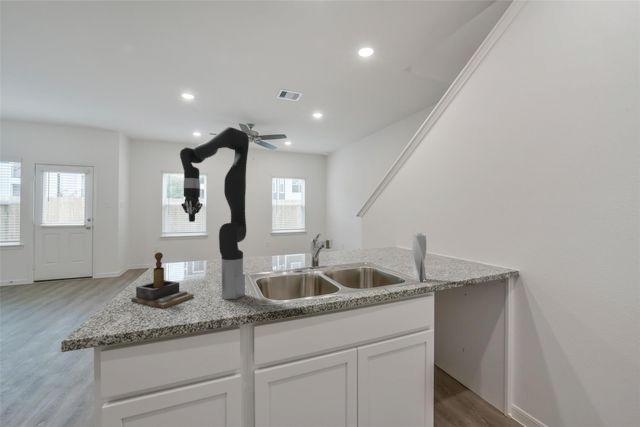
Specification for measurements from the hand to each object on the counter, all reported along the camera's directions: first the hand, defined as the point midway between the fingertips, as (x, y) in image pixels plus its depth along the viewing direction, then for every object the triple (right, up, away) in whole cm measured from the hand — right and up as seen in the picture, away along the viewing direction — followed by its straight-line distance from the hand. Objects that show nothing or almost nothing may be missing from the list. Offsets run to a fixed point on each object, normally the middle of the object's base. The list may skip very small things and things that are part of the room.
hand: (191, 221), depth 129 cm
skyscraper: (+122, -34, +14) cm, 127 cm away
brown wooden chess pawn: (-5, -31, -18) cm, 37 cm away
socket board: (-3, -33, -19) cm, 38 cm away
